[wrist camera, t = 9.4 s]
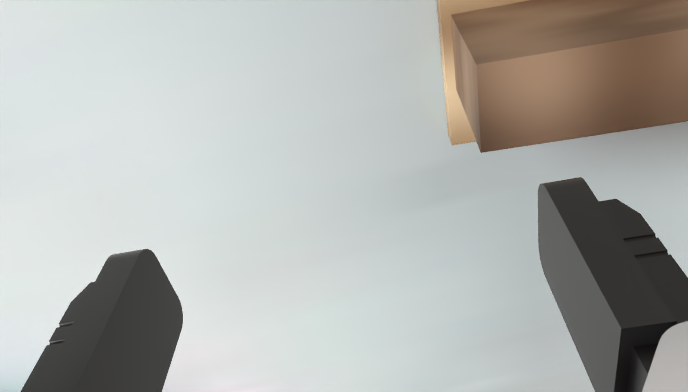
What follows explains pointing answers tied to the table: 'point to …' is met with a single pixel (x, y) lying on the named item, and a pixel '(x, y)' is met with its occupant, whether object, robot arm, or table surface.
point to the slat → (570, 68)
